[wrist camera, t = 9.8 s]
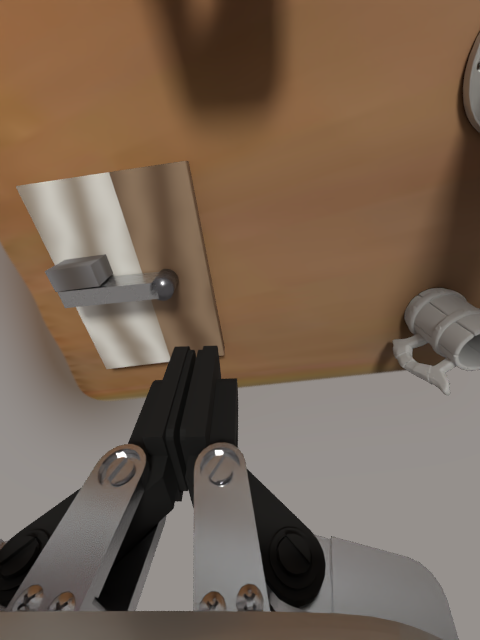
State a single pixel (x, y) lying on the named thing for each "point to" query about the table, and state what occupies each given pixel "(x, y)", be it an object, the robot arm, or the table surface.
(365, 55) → the table surface
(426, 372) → the mug
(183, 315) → the door board
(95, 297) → the bar
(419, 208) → the table surface
